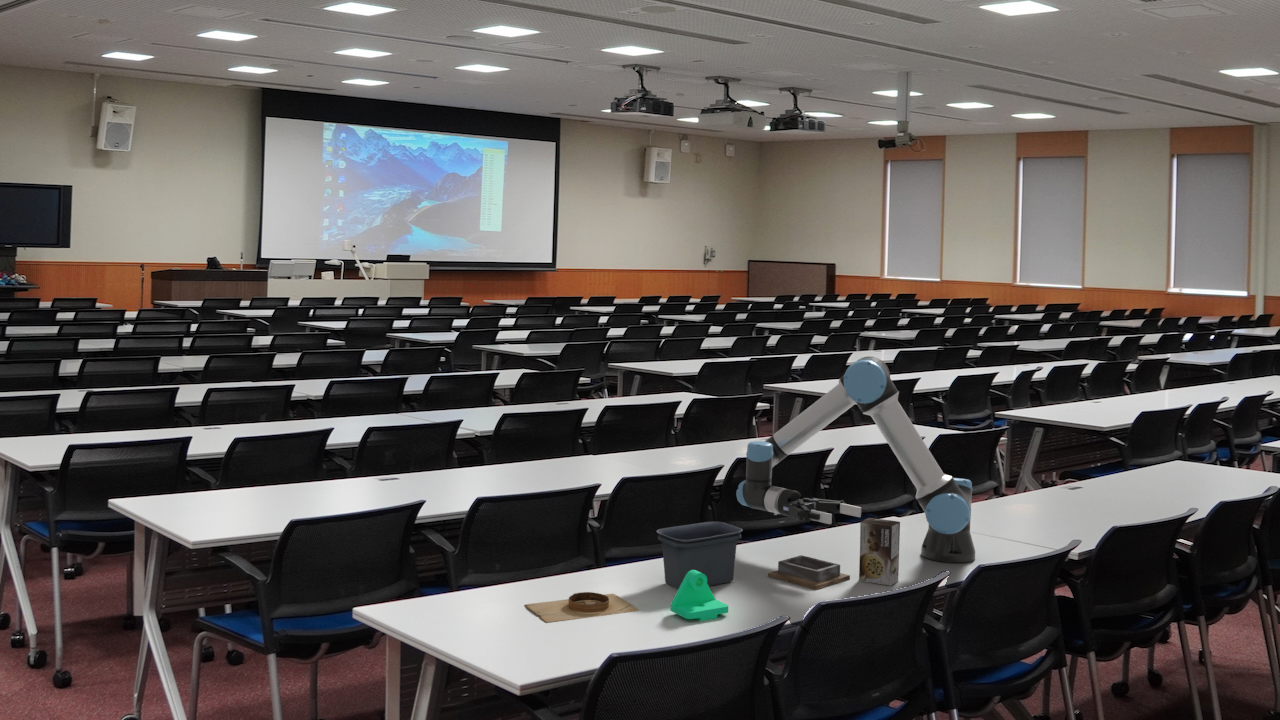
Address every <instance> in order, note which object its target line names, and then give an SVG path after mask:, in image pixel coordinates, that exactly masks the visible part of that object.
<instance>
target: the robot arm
mask: <svg viewBox="0 0 1280 720" xmlns="http://www.w3.org/2000/svg"><path fill="white" fill-rule="evenodd" d="M899 394H900V391H899V390H898V389H897V387H896V385H895V384H894V382H893V381H892V379H891V372H890V370H889V367H888V365H887V364H886V363H885V362H884V361H883V360H882V359H880V358H878V357H876V356H864V357H860V358H859V359H857V360H856V361H853V363H851V364H850V365H849V366H848V367H847V369H846V370H845V372H844V374H843V376H841V377H840V378H839V379H838V384H837V385H835V386H834V387H833V388H832V389H830V390H829V391H828V392H826V393H825V394H823V396H821V397H820V398H819V399H817V400H816V401H815V402H814V403H812V404H811V405H810V406H808V407H807V408H806V409H805V410H803V411H802V412H800V413H799V414H798V415H797V416H796V417H794V418H793V419H791V420H790V421H789V422H788V423H787V424H786V425H784V426H782V427H781V428H780V429H779V430H777V431H776V432H774V433H773V434H772V436H770V437H769V438H767V439H766V440H765V441H761V440H755V441H750V442H748V444H747V447H746V453H745V455H746V466H745V467H746V468H745V470H746V471H745V480H743V481H741V482H740V483H739V484H738V487H737V489H736V494H735V495H736V499H737V502H738V503H739V504H741V505H742V506H744V507H745V506H746V507H749V508H751V509H755V510H760V511H764V512H769V513H773V515H774V516H778V515H782V516H785V517H789V518H795V519H798V520H799V521H803V520H804V522H805V523H810V521H813V522H819V523H822V524H827V525H832V523H833V521H832V519H833V514H832V513H828V512H834V513H835V512H836V513H839V514H843V515H847V516H852V517H855V518H856V517H857V518H861V516H862V507H860V506H857V505H851V504H849V503H848V504H847V503H846V502H845V501H844V500H843V499H841V500H835V499H834V500H832V499H824V498H823V499H822V498H816V497H810V498H809V497H804V498H803V496H802V495H801V494H802V493H800V492H799V491H797V490H793V489H789V488H784V487H779V486H775V485H772V477H773V468H774V467H775V466H777V465H778V464H779V463H780V462H781V461H783V460H784V459H786V457H788V456H789V455H790V454H791V453H793V452H795V451H796V450H797V449H798V448H800V447H801V446H802V445H803V444H804V443H806V442H807V441H809V440H810V439H811V438H812V437H814V436H815V435H817V434H818V433H819V432H821V431H822V430H823V429H824V428H826V427H827V426H829V424H831V423H832V422H833V421H835V420H836V419H837V418H839V417H840V416H841V415H843V414H845V412H847V411H848V410H849V409H850V408H852V407H854V405H857V407H858V408H859V410H860V412H861V413H862V414H863V415H866V416H870V417H871V418H872V420H873V422H874V423H875V425H876V426H877V428H878V429H879V431H880V433H881V434H882V436H883V438H884V440H885V441H886V442H887V444H888V445H889V447H890V449H891V450H892V453H894V455H895V456H896V458H897V460H898V462H899V463H900V465H901V466H902V469H904V471H905V473H906V474H907V476H908V477H909V479H910V481H911V482H912V484H913V486H914V487H915V489H916V494H915V499H916V501H917V502H918V504H919V506H920V507H921V508H922V510H923V512H924V514H925V519H926V522H927V523H928V527H927V528H928V529H927V531H926V534H925V537H924V540H923V542H922V544H921V547H920V548H921V550H920V552H921V553H920V554H921V556H922V557H924V558H926V559H929V560H931V561H935V562H936V561H937V562H943V563H956V564H957V563H969V562H973V561H974V560H975V559H976V549H975V545H974V541H973V537H972V534H971V520H972V519H971V518H972V516H971V515H972V514H971V513H972V497H973V496H972V495H973V483H972V481H971V480H970V479H966V478H958V477H953V476H952V475H949V474H946V473H944V472H943V470H942V469H941V467H940V465H939V464H938V462H937V460H936V459H935V457H934V455H933V454H932V452H931V451H930V449H929V447H928V445H926V443H925V441H924V440H923V438H922V437H921V435H920V433H919V432H918V431H917V429H916V428H915V425H914V424H913V422H912V421H911V419H910V418H909V416H908V415H907V413H906V411H905V410H904V408H903V406H902V405H901V403H900V402H899Z"/></svg>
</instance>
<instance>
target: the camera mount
mask: <svg viewBox="0 0 1280 720" xmlns="http://www.w3.org/2000/svg"><path fill="white" fill-rule="evenodd" d="M670 611H671V612H673V613H675V614H676V615H678V616H680V617H682V618H684V619H685V620H694V619H696V620H698V621H699V622H704V621H709V620H715V619H718V615H723V614H728V613H729V605H728V604H726V603H725V602H722V601H720V600H718V599H716V597H715V594H713V592H712V590H711V587H710V586H708V584H707V577H706V575H705V574H703V573H701V572H698V571H696V570H690V571H689V572H688V573H687V574H686V576H685V578H684V580H683V582H682V583H681V585H680V587H679V589H678V588H677V591H676V593H675V594H674V597H673V599H672V601H671V603H670Z"/></svg>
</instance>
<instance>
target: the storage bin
mask: <svg viewBox="0 0 1280 720" xmlns="http://www.w3.org/2000/svg"><path fill="white" fill-rule="evenodd" d="M743 530H744V529H743V528H741V527H739V526H735V525H733V524H728V523H727V522H724V521H723V522H722V521H706V522H705V521H704V522H698V523H692V524H691V523H690V524H685V525H678V526H677V525H676V526H671V527H664V528H659V529H657V530H656V533H657V534H658V535H657V540H658V541H660V542H661V544H662V546H661V547H662V548H661V549H662V558H663V569H664V570H663V571H664V581H665V584H667V585H668V586H671V587H673V588H676V589H677V590H678V589H679V587H680V585H681V583H682V582H683V580H684V578H685V576H686V574H687V573H688V572H689V571H690V570H696V571H698V572H701V573H703V574H705V575H706V577H707V584H708V586H709V587H711V586H716V585H722V584H723V585H724V584H726V583H727V584H728V583H731V582H733V581H734V572H735V563H736V555H737V553H736V551H737V545H738V544H737V543H738V540H740V539H742V534H741V533H742V532H743Z"/></svg>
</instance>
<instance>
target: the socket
mask: <svg viewBox="0 0 1280 720" xmlns="http://www.w3.org/2000/svg"><path fill="white" fill-rule="evenodd" d="M777 565H778V567H777V570H773V571H769V572H767V577H769V578H771V579H776V580H779V581H783V582H786V583H790V584H792V585H797V586H801V587H804V588H809V589H812V590H819V589H822V588H825V587H829V586H832V585H835V584H838V583H841V582H845V581H847V580H850V579H851V575H850V574H846V573H842V572H841V564H838V563H833V562H831V561H827V560H823V559H822V560H821V559H819V558H815V557H810V556H805V555H803V554H802V555H798V556H793V557H790V558H785V559H782V560H779V561H778V563H777Z"/></svg>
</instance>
